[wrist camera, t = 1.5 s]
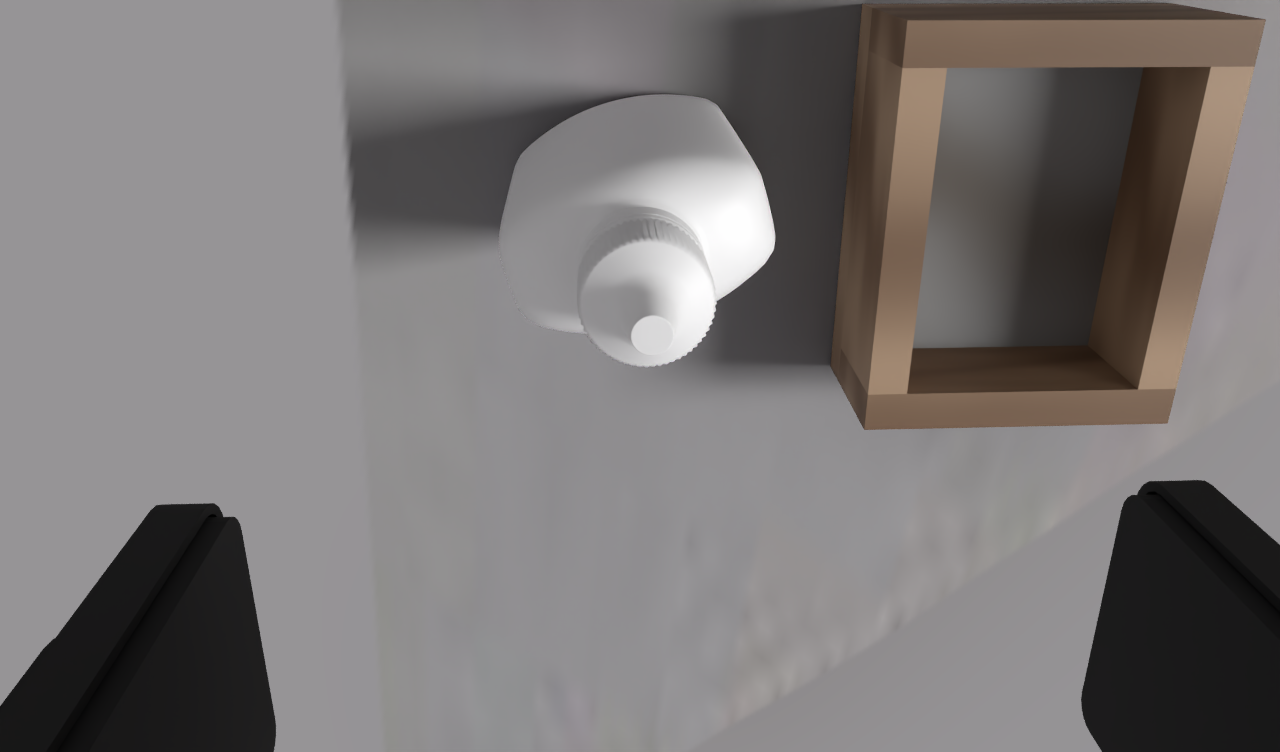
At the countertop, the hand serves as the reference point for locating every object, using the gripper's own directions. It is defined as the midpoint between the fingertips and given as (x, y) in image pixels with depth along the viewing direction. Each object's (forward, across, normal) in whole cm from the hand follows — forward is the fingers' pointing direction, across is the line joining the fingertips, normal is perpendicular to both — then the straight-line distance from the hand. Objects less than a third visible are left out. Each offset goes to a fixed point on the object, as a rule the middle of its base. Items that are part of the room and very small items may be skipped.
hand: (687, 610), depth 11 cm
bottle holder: (+18, -10, 0) cm, 21 cm away
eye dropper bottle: (+18, 0, -1) cm, 19 cm away
